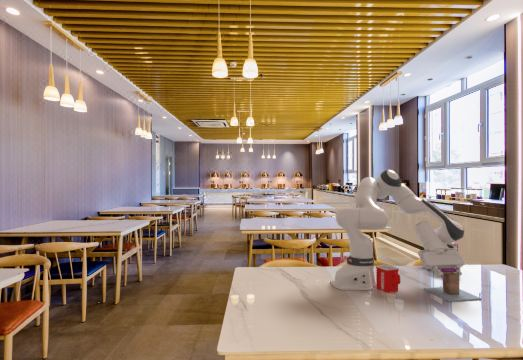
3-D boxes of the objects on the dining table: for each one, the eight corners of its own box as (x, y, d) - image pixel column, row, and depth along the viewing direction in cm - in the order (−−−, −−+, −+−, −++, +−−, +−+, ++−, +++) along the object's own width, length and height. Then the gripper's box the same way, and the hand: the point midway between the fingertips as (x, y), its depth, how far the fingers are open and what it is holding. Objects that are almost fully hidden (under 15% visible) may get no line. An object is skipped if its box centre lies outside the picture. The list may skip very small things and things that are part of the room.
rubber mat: (448, 301, 134) (448, 300, 134) (423, 289, 149) (423, 288, 149) (481, 299, 136) (481, 298, 136) (453, 287, 152) (453, 286, 152)
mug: (374, 287, 152) (374, 266, 152) (387, 285, 155) (387, 264, 155) (392, 296, 141) (392, 272, 141) (406, 293, 144) (406, 270, 144)
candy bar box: (438, 272, 178) (437, 243, 179) (434, 269, 183) (433, 241, 184) (458, 272, 177) (458, 243, 178) (454, 270, 182) (453, 242, 183)
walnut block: (443, 291, 144) (442, 272, 144) (452, 291, 145) (452, 272, 145) (450, 295, 140) (449, 275, 140) (459, 294, 141) (459, 274, 141)
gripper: (419, 246, 149) (433, 273, 139) (457, 245, 152) (474, 271, 142) (413, 254, 153) (427, 279, 143) (450, 252, 156) (466, 277, 146)
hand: (450, 275), depth 143 cm, fingers open, 8 cm apart
